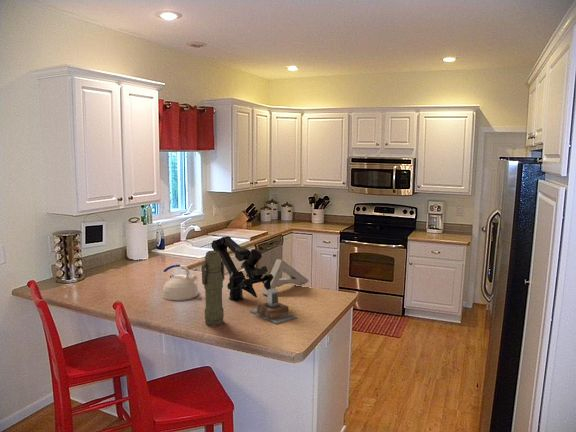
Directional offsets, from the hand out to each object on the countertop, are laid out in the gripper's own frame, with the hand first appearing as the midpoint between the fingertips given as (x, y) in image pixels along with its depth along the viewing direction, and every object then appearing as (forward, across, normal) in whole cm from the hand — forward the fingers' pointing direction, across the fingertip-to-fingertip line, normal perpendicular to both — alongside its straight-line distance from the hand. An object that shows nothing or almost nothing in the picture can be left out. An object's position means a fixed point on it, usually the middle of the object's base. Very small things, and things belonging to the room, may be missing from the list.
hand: (263, 295), depth 233 cm
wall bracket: (-9, +34, +22) cm, 42 cm away
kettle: (-30, -20, +43) cm, 57 cm away
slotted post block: (+11, 0, 0) cm, 11 cm away
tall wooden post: (+11, 0, 0) cm, 11 cm away
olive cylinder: (+4, -28, +8) cm, 29 cm away
